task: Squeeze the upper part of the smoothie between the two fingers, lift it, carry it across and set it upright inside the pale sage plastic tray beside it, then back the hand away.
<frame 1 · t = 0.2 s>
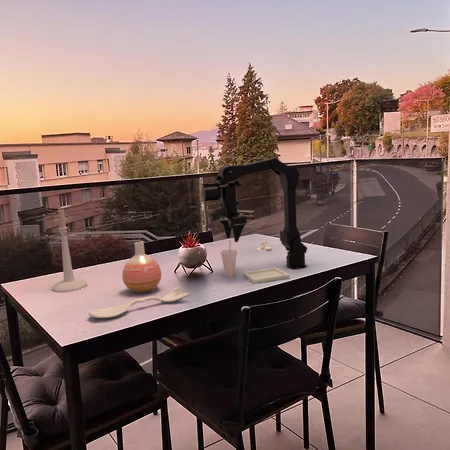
hand: (232, 239, 176), 14 cm above the table, tool pointing down, fingers open, 9 cm apart
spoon: (140, 309, 147), on the table
vase: (143, 291, 166), on the table
tray: (265, 277, 174), on the table
candlestick: (69, 287, 176), on the table
smoothie: (230, 276, 179), on the table
teacup and saucer: (261, 251, 221), on the table
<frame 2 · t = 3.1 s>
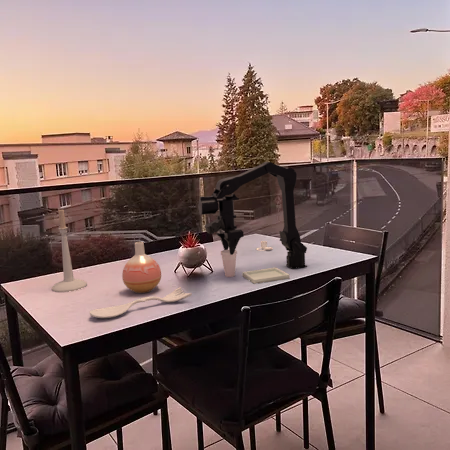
hand: (228, 252, 178), 9 cm above the table, tool pointing down, fingers closed on smoothie, 6 cm apart
smoothie: (230, 276, 179), on the table, touching gripper
everything else where it was.
when the fingers open (11 cm above the table, at t = 7.0 s): smoothie drops 1 cm, resting on tray.
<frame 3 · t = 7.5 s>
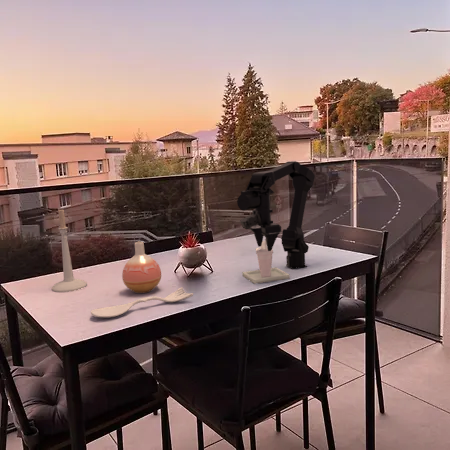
hand: (264, 248, 172), 11 cm above the table, tool pointing down, fingers open, 9 cm apart
smoothie: (265, 276, 174), resting on tray
everything else where it was.
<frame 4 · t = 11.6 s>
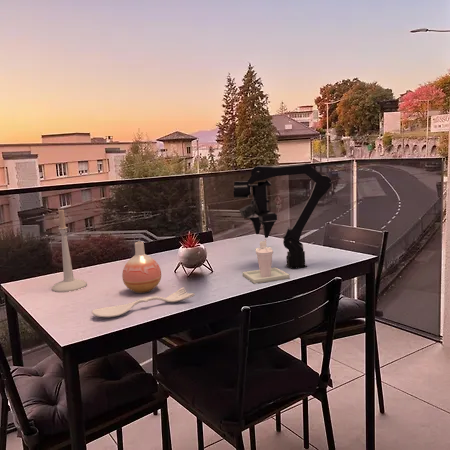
hand: (261, 236, 187), 13 cm above the table, tool pointing down, fingers open, 9 cm apart
at the end: smoothie inside the target area on the tray (0.0 cm from its centre), point 0.3 cm above the tray's base; smoothie tilted 0°; the gripper is holding nothing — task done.
